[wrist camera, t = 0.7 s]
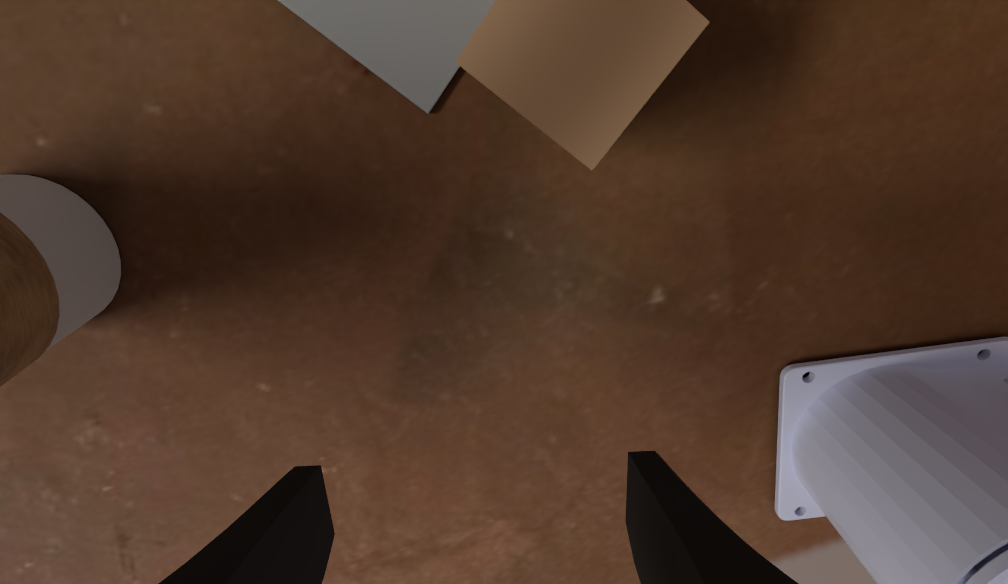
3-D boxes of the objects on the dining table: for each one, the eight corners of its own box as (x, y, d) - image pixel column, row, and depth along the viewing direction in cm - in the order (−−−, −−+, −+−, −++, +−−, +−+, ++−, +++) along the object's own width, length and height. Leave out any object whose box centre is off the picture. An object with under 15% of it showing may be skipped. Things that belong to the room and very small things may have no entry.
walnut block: (634, 44, 18) (709, 21, 12) (560, 142, 20) (591, 170, 13) (542, -37, 18) (568, -109, 11) (469, 70, 19) (454, 61, 12)
